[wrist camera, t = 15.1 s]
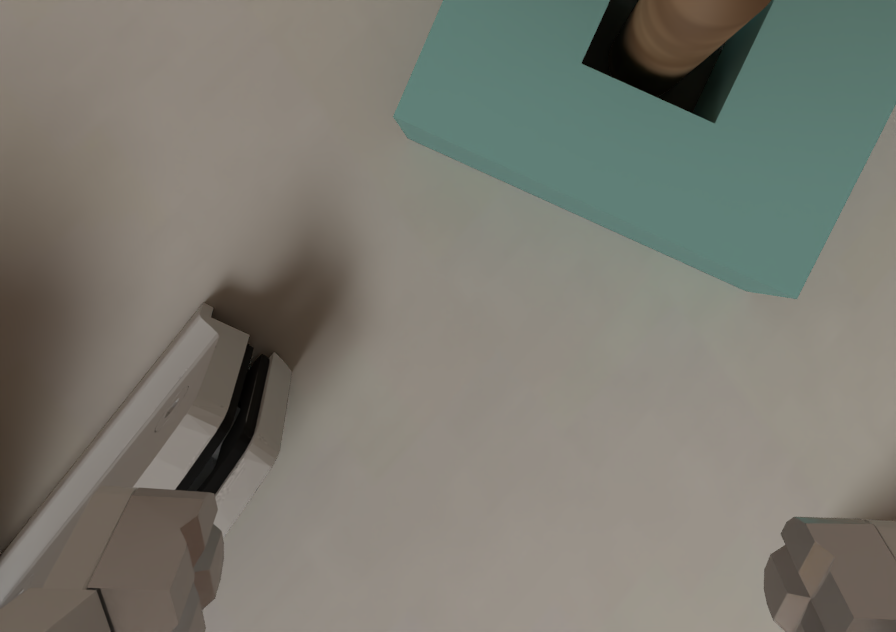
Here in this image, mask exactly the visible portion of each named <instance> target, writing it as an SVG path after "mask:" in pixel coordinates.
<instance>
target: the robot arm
mask: <svg viewBox="0 0 896 632" xmlns="http://www.w3.org/2000/svg"><path fill="white" fill-rule="evenodd" d="M217 511H218V507H217V503H216V499H215V494H214V493H210V492H198V491H183V490H169V489H154V488H140V487H139V488H135V487H118V486H101V487H100V488H99V489H98V490H97V491H96V492H95V493H94V494H93V495H92V496H91V498H90V500H89V502H88V503H87V505H86V507H85V509H84V511H83V513H82V514H81V516H80V518H79V520H78V522H77V524H76V525H75V527H74V529H73V531H72V533H71V535H70V536H69V538H68V540H67V542H66V544H65V546H64V547H63V549H62V551H61V553H60V555H59V556H58V558H57V560H56V562H55V564H54V566H53V567H52V569H51V571H50V573H49V575H48V577H47V578H46V580H45V582H44V584H43V586H42V588H37V587H30V588H29V589H27V590H26V591H24V592H23V593H22V594H20V595H19V596H18V597H16V598H15V599H13V600H12V601H11V602H9V603H8V604H6V605H5V606H4V607H2V608H1V609H0V632H205V629H206V626H205V621H204V616H203V612H202V610H203V609H204V608H205V607H206V606H207V605H208V604H209V603H210V602H212V601H213V600H214V599H215V597H216V593H217V590H218V587H219V583H220V580H221V574H222V567H223V561H224V541H223V535H222V531H221V530H220V529H219V528H218V527H217V526H215V525H214V524H213V523H214V520H215V517H216V514H217ZM781 536H782V538H783V540H784V543H785V546H783V547H781V548H780V549H778V550H777V551H775V552H774V553H772V554H771V555H770V557H769V560H768V562H767V565H766V567H765V570H764V592H765V597H766V602H767V605H768V608H769V611H770V613H771V616H772V618H773V621H774V622H775V623H777V624H778V625H779V626H780V627H781V628H782V629H783V630H784V631H785V632H896V521H888V520H861V519H849V518H817V517H793V518H792V519H790V520H789V521H787V522H786V524H785V526H784V528H783V530H782V532H781Z"/></svg>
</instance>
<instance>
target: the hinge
mask: <svg viewBox="0 0 896 632" xmlns="http://www.w3.org/2000/svg"><path fill="white" fill-rule="evenodd" d="M212 312H213V307H211V306H209V305H208V304H206V303H204V302H203V304H202V305H201V306H200V307H199V309H198V310H197V311H196V312H195V314H194V315H193V316H192V317H191V319H190V320H189V321H188V322H187V324H186V325H185V326H184V327H183V329H182V330H181V331H180V332H179V334H178V335H177V336H176V337H175V339H174V340H173V341H172V342H171V344H170V345H169V346H168V347H167V349H166V350H165V351H164V352H163V354H162V355H161V356H160V357H159V359H158V360H157V361H156V362H155V364H154V365H153V366H152V367H151V369H150V370H149V371H148V372H147V374H146V375H145V376H144V377H143V379H142V380H141V381H140V382H139V384H138V385H137V386H136V387H135V389H134V390H133V391H132V392H131V394H130V395H129V396H128V397H127V399H126V400H125V401H124V402H123V404H122V405H121V406H120V407H119V409H118V410H117V411H116V412H115V414H114V415H113V416H112V417H111V419H110V420H109V421H108V422H107V424H106V425H105V426H104V427H103V429H102V430H101V431H100V432H99V433H98V435H97V436H96V437H95V438H94V440H93V441H92V442H91V443H90V445H89V446H88V447H87V448H86V450H85V451H84V452H83V453H82V455H81V456H80V457H79V458H78V460H77V461H76V462H75V463H74V465H73V466H72V467H71V468H70V470H69V471H68V472H67V473H66V475H65V476H64V477H63V478H62V480H61V481H60V482H59V483H58V485H57V486H56V487H55V488H54V490H53V491H52V492H51V493H50V495H49V496H48V497H47V498H46V500H45V501H44V502H43V503H42V505H41V506H40V507H39V508H38V510H37V511H36V512H35V513H34V515H33V516H32V517H31V518H30V520H29V521H28V522H27V523H26V525H25V526H24V527H23V528H22V530H21V531H20V532H19V533H18V535H17V536H16V537H15V538H14V540H13V541H12V542H11V543H10V545H9V546H8V547H7V548H6V550H5V551H4V552H3V553H2V555H1V556H0V609H1V608H2V607H4V606H5V605H6V604H8V603H9V602H11V601H12V600H13V599H15V598H16V597H18V596H19V595H20V594H22V593H23V592H24V591H26V590H27V589H29V588H30V587H37V588H42V586H43V584H44V582H45V580H46V578H47V577H48V575H49V573H50V571H51V569H52V567H53V566H54V564H55V562H56V560H57V558H58V556H59V555H60V553H61V551H62V549H63V547H64V546H65V544H66V542H67V540H68V538H69V536H70V535H71V533H72V531H73V529H74V527H75V525H76V524H77V522H78V520H79V518H80V516H81V514H82V513H83V511H84V509H85V507H86V505H87V503H88V502H89V500H90V498H91V496H92V495H93V494H94V493H95V492H96V491H97V490H98V489H99V488H100V487H101V486H118V487H135V488H139V487H140V488H154V489H169V490H183V491H198V492H210V493H214V494H215V499H216V503H217V507H218V511H217V514H216V517H215V520H214V523H213V524H214V525H215V526H217V527H218V528H219V529H220V530H221V531H222V535H223V537H224V536H225V535H226V533H227V532H228V531H229V529H230V528H231V526H232V525H233V524H234V522H235V521H236V519H237V518H238V516H239V515H240V513H241V512H242V511H243V509H244V508H245V506H246V505H247V503H248V502H249V500H250V499H251V498H252V496H253V495H254V493H255V492H256V490H257V489H258V487H259V486H260V484H261V483H262V481H263V480H264V478H265V477H266V476H267V474H268V473H269V471H270V470H271V468H272V466H273V464H274V462H275V461H276V459H277V456H278V454H279V451H280V447H281V440H282V434H283V427H284V421H285V414H286V408H287V401H288V395H289V388H290V382H291V375H292V371H291V370H290V369H289V367H288V366H287V365H286V363H285V362H284V361H283V360H282V359H281V358H280V357H279V356H278V355H277V354H276V353H275V352H274V353H273V354H272V355H271V356H270V357H269V358H268V357H266V356H265V355H263V354H261V356H260V357H259V358H258V359H257V361H256V362H255V363H254V364H253V365H252V367H251V368H250V369H249V370H248V366H249V362H250V359H251V355H252V351H253V347H251V346H250V345H248V344H247V343H248V339H249V336H250V335H249V334H246V333H244V332H242V331H240V330H238V329H235V328H233V327H231V326H229V325H227V324H224V323H222V322H220V321H218V320H216V319H213V318H211V316H212ZM247 370H248V372H247Z"/></svg>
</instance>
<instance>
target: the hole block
mask: <svg viewBox="0 0 896 632" xmlns="http://www.w3.org/2000/svg"><path fill="white" fill-rule="evenodd" d="M609 1H610V0H443V2H442V5H441V7H440V9H439V12H438V14H437V16H436V19H435V21H434V23H433V25H432V28H431V30H430V32H429V35H428V37H427V39H426V42H425V44H424V46H423V49H422V51H421V53H420V56H419V58H418V60H417V63H416V65H415V67H414V70H413V72H412V74H411V77H410V79H409V81H408V84H407V86H406V88H405V90H404V93H403V95H402V97H401V100H400V102H399V104H398V107H397V109H396V111H395V114H394V116H393V117H394V119H395V120H396V121H397V123H398V124H399V126H400V127H401V129H402V130H403V132H404V133H405V135H406V136H407V138H409V139H411V140H413V141H415V142H417V143H420V144H422V145H424V146H426V147H429V148H431V149H433V150H435V151H437V152H440V153H442V154H444V155H446V156H448V157H451V158H453V159H455V160H457V161H460V162H462V163H464V164H466V165H468V166H471V167H473V168H475V169H477V170H479V171H482V172H484V173H486V174H488V175H490V176H493V177H495V178H497V179H499V180H502V181H504V182H506V183H508V184H510V185H513V186H515V187H517V188H519V189H521V190H524V191H526V192H528V193H530V194H533V195H535V196H537V197H539V198H541V199H544V200H546V201H548V202H550V203H552V204H555V205H557V206H559V207H561V208H563V209H566V210H568V211H570V212H572V213H575V214H577V215H579V216H581V217H583V218H586V219H588V220H590V221H592V222H594V223H597V224H599V225H601V226H603V227H606V228H608V229H610V230H612V231H614V232H617V233H619V234H621V235H623V236H625V237H628V238H630V239H632V240H634V241H636V242H639V243H641V244H643V245H645V246H648V247H650V248H652V249H654V250H656V251H659V252H661V253H663V254H665V255H667V256H670V257H672V258H674V259H676V260H679V261H681V262H683V263H685V264H687V265H690V266H692V267H694V268H696V269H698V270H701V271H703V272H705V273H707V274H709V275H712V276H714V277H716V278H718V279H721V280H723V281H725V282H727V283H729V284H732V285H734V286H736V287H738V288H740V289H743V290H745V291H748V292H755V293H761V294H767V295H774V296H780V297H787V298H793V299H797V298H798V296H799V294H800V292H801V290H802V288H803V286H804V284H805V282H806V280H807V278H808V276H809V274H810V272H811V270H812V268H813V266H814V264H815V262H816V260H817V258H818V256H819V254H820V252H821V250H822V248H823V247H824V245H825V243H826V241H827V239H828V237H829V235H830V233H831V231H832V229H833V227H834V225H835V223H836V221H837V219H838V217H839V215H840V213H841V211H842V209H843V207H844V205H845V203H846V201H847V199H848V197H849V195H850V193H851V191H852V189H853V187H854V185H855V183H856V181H857V179H858V177H859V175H860V173H861V172H862V170H863V168H864V166H865V164H866V162H867V160H868V158H869V156H870V154H871V152H872V150H873V148H874V146H875V144H876V142H877V140H878V138H879V136H880V134H881V132H882V130H883V128H884V126H885V124H886V122H887V120H888V118H889V116H890V114H891V112H892V110H893V108H894V106H895V104H896V0H771V1H770V3H769V4H768V5H767V6H766V7H765V8H764V9H763V10H762V11H761V12H759V13H758V14H757V15H756V16H755V17H754V18H752V19H751V20H750V21H749V22H748V23H747V24H746V25H744V26H743V27H742V28H741V29H740V30H739V31H737V32H736V33H735V34H734V35H733V36H732V37H730V38H729V39H728V40H727V41H726V43H725V45H724V47H723V49H722V51H721V53H720V56H719V58H718V60H717V62H716V64H715V66H714V68H713V70H712V72H711V74H710V77H709V79H708V81H707V83H706V85H705V87H704V89H703V91H702V93H701V95H700V98H699V100H698V102H697V104H696V106H695V108H694V110H693V112H692V113H690V112H688V111H686V110H684V109H681V108H679V107H677V106H675V105H672V104H670V103H668V102H666V101H664V100H661V99H659V98H657V97H655V96H652V95H650V94H648V93H646V92H644V91H641V90H639V89H637V88H635V87H632V86H630V85H628V84H626V83H624V82H621V81H619V80H617V79H615V78H612V77H610V76H608V75H606V74H604V73H601V72H599V71H597V70H595V69H592V68H590V67H588V66H586V65H584V64H581V63H582V61H583V58H584V56H585V54H586V52H587V50H588V48H589V45H590V43H591V41H592V39H593V37H594V34H595V32H596V30H597V28H598V26H599V23H600V21H601V19H602V17H603V15H604V12H605V10H606V8H607V6H608V4H609Z"/></svg>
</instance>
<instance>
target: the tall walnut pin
mask: <svg viewBox="0 0 896 632" xmlns="http://www.w3.org/2000/svg"><path fill="white" fill-rule="evenodd" d="M770 1H771V0H639V1H638V2H637V4H636V5H635V7H634V9H633V10H632V12H631V13H630V15H629V17H628V18H627V20H626V22H625V23H624V25H623V26H622V28H621V30H620V31H619V33H618V34H617V36H616V38H615V39H614V41H613V43H612V45H611V48H610V51H609V57H608V65H609V70H610V74H611V76H612V78H615V79H617V80H619V81H621V82H624V83H626V84H628V85H630V86H632V87H635V88H637V89H639V90H641V91H644V92H646V93H648V94H650V95H652V96H655V97H657V96H660V95H662V94H664V93H666V92H667V91H669V90H670V89H671V88H672V87H674V86H675V85H676V84H677V83H678V82H679V81H681V80H682V79H683V78H684V77H685V76H686V75H688V74H689V73H690V72H691V71H692V70H693V69H695V68H696V67H697V66H698V65H699V64H700V63H701V62H703V61H704V60H705V59H706V58H707V57H708V56H710V55H711V54H712V53H713V52H714V51H715V50H717V49H718V48H719V47H720V46H721V45H722V44H723V43H725V42H726V41H727V40H728V39H729V38H730V37H732V36H733V35H734V34H735V33H736V32H737V31H739V30H740V29H741V28H742V27H743V26H744V25H746V24H747V23H748V22H749V21H750V20H751V19H752V18H754V17H755V16H756V15H757V14H758V13H759V12H761V11H762V10H763V9H764V8H765V7H766V6H767V5H768V4H769V3H770Z"/></svg>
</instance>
